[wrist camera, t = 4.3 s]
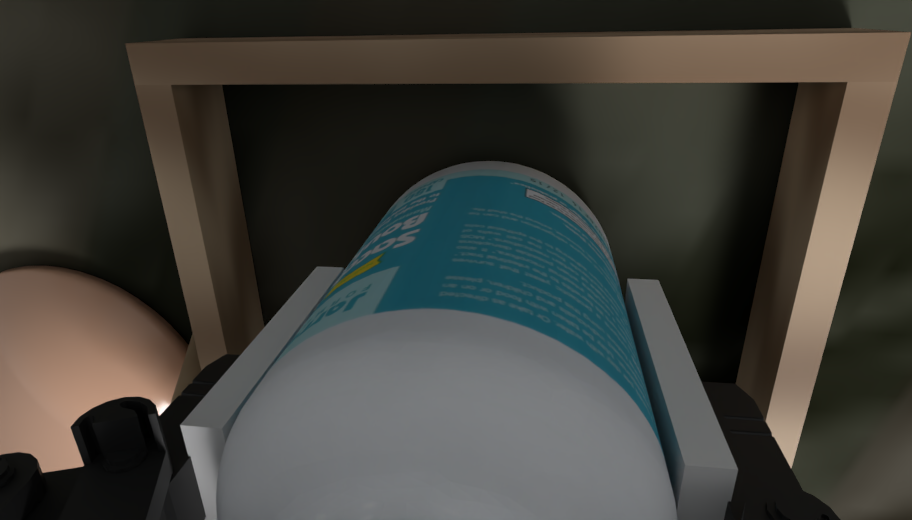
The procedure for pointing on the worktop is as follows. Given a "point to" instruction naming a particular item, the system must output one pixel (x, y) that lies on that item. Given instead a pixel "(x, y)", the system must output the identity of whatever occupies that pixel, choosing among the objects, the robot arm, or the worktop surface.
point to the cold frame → (542, 61)
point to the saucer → (75, 357)
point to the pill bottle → (459, 373)
